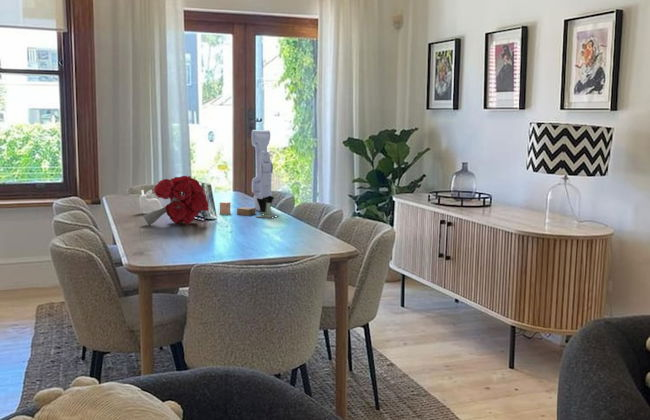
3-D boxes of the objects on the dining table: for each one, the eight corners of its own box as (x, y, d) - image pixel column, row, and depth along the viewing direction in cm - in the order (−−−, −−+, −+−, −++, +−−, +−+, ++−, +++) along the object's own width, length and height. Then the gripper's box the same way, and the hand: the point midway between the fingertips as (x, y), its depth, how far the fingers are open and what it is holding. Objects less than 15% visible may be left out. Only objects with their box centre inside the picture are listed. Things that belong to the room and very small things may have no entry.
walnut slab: (244, 213, 344) (244, 206, 344) (255, 214, 341) (255, 208, 341) (237, 214, 338) (237, 208, 337) (248, 216, 335) (248, 209, 334)
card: (265, 215, 338) (265, 213, 338) (279, 216, 335) (279, 215, 335) (255, 217, 329) (255, 216, 329) (269, 219, 326) (269, 217, 326)
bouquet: (162, 244, 287) (219, 209, 295) (134, 198, 281) (193, 164, 290) (156, 238, 307) (210, 206, 316) (129, 196, 301) (185, 164, 310)
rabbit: (139, 214, 327) (139, 190, 326) (138, 211, 336) (138, 188, 334) (163, 214, 331) (163, 190, 329) (162, 211, 340) (162, 188, 338)
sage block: (263, 213, 344) (264, 202, 343) (270, 214, 343) (270, 203, 342) (260, 214, 341) (260, 203, 340) (266, 215, 339) (266, 203, 338)
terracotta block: (223, 212, 342) (224, 201, 341) (230, 213, 340) (230, 202, 339) (219, 213, 338) (219, 202, 337) (226, 214, 336) (226, 203, 336)
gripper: (263, 183, 347) (263, 208, 349) (253, 186, 333) (253, 212, 335) (275, 184, 346) (275, 209, 347) (266, 187, 332) (265, 213, 334)
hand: (265, 211), depth 341 cm, fingers open, 7 cm apart
